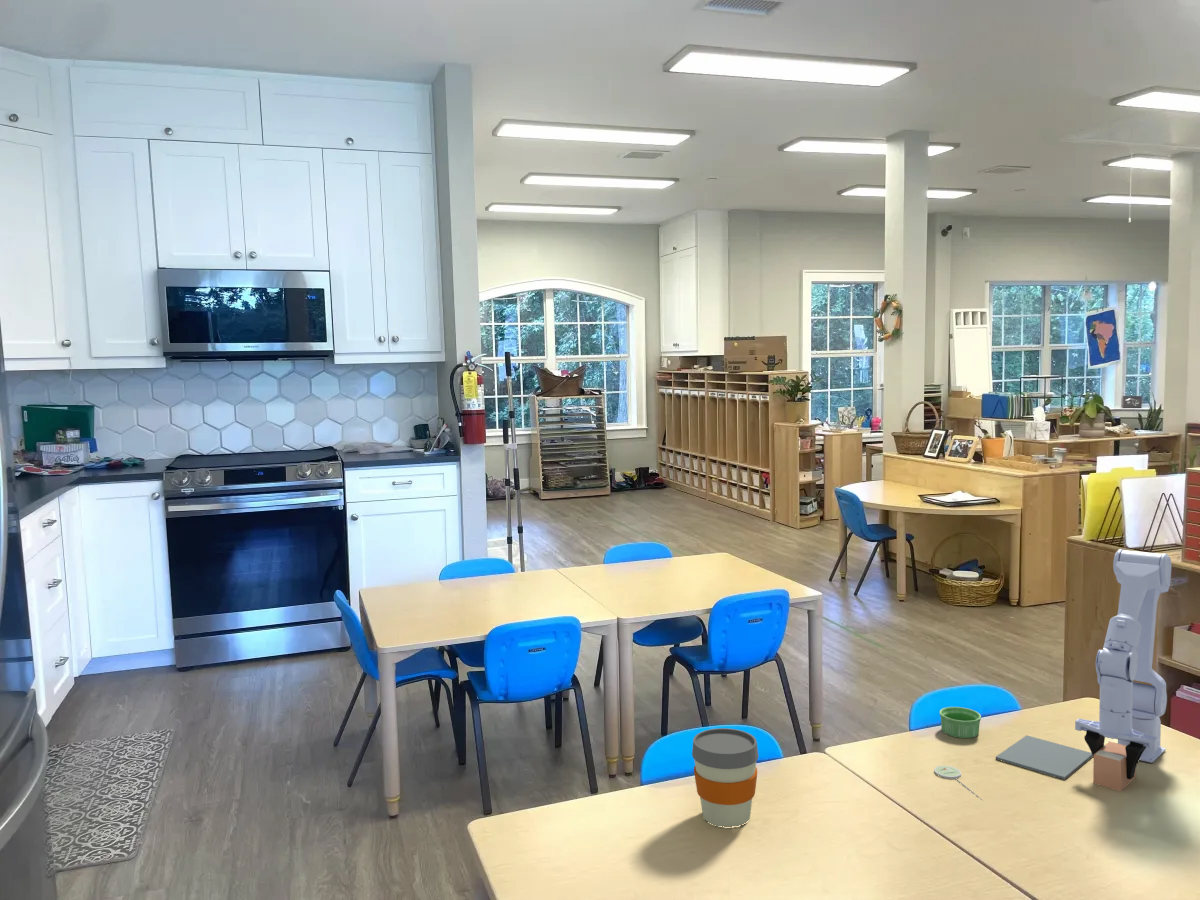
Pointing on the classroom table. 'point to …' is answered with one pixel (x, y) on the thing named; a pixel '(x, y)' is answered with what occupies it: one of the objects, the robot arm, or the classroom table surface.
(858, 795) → the classroom table surface
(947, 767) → the sign
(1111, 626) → the robot arm
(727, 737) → the reusable coffee cup
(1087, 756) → the mat
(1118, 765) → the brick
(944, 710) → the ramekin
